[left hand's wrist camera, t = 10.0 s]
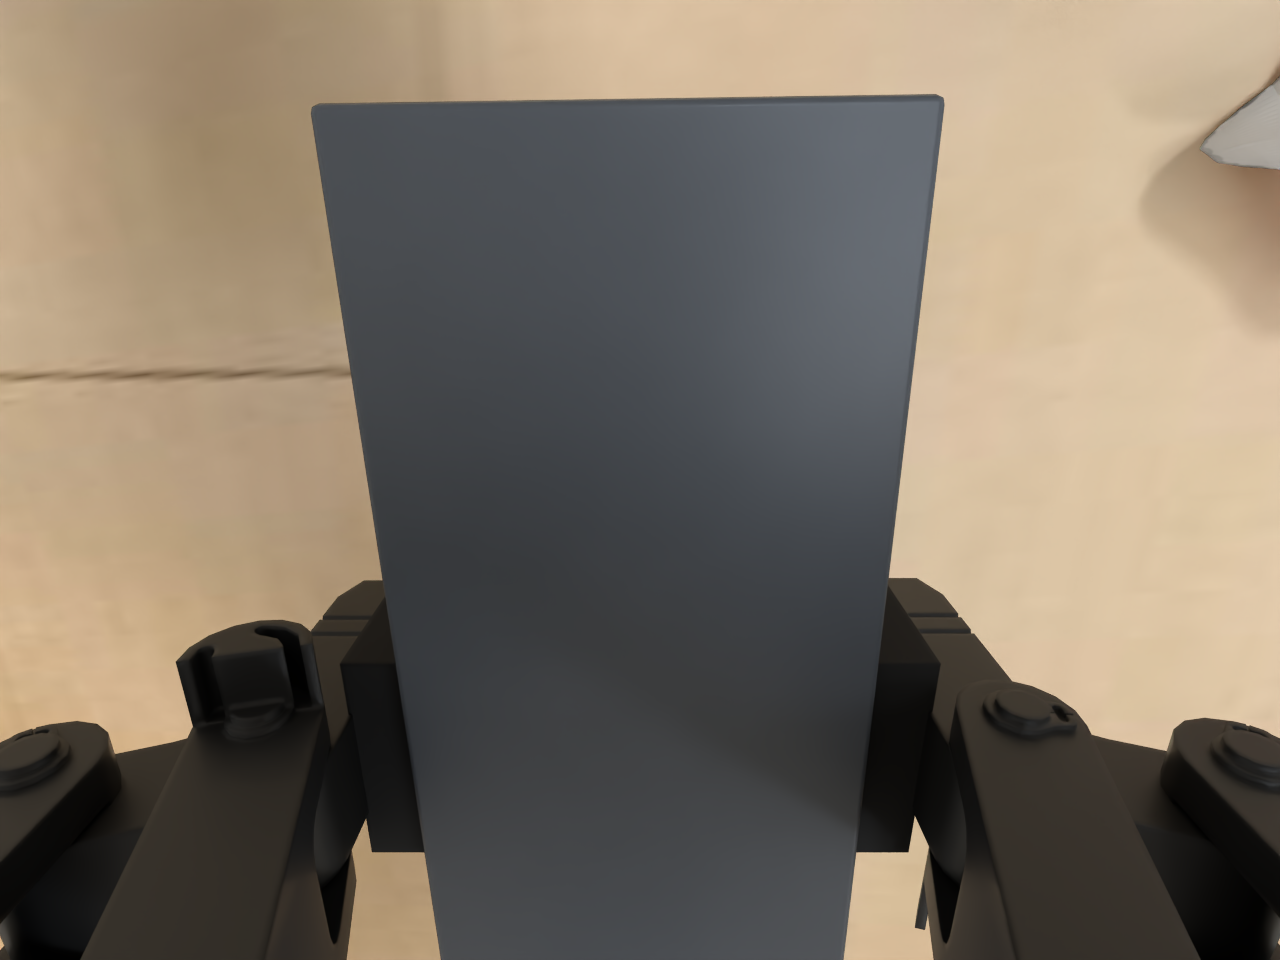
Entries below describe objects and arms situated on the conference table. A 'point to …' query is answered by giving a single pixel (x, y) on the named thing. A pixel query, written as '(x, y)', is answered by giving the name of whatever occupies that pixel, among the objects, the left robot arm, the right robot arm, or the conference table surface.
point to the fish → (1250, 133)
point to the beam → (634, 497)
